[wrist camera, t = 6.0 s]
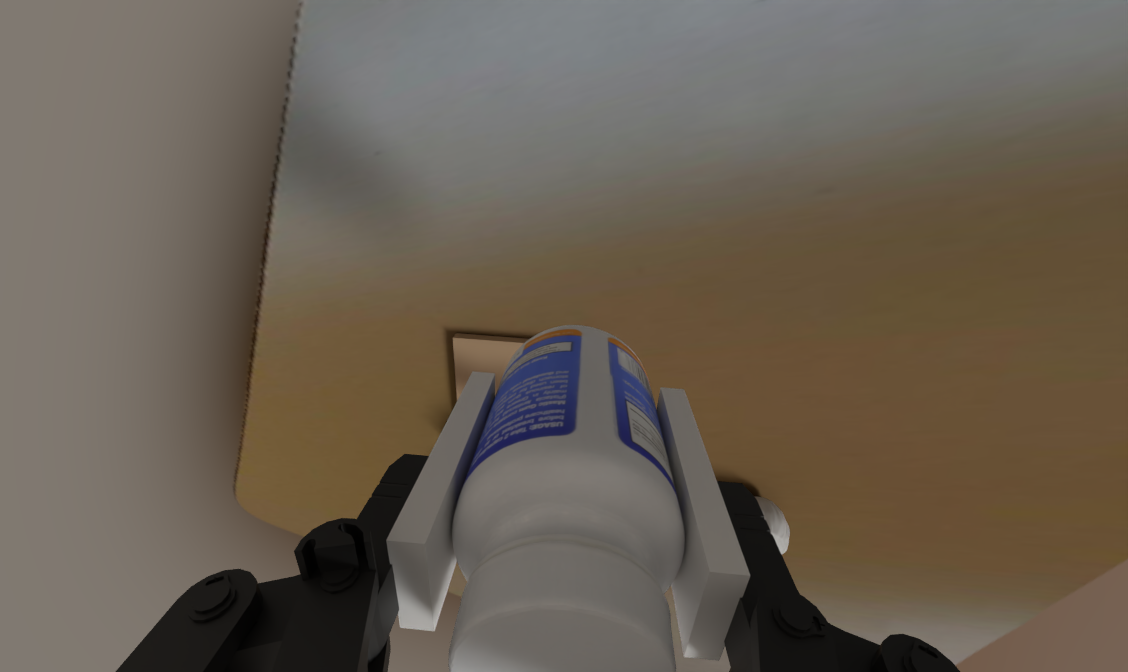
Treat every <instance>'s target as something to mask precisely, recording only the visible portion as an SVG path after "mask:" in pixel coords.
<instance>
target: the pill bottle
mask: <svg viewBox="0 0 1128 672" xmlns="http://www.w3.org/2000/svg"><path fill="white" fill-rule="evenodd" d="M452 541H453V548H454V553H455V557H456V560H457V562H458V565H459V567H460V569H461V571H462V573H463V575H464V577H465V578H466V580H467V581H468V582H467V584H466V586H465V589H464V592H463V595H462V599H461V604H460V608H459V611H458V615H457V619H456V623H455V627H454V631H453V636H452V640H451V644H450V649H449V671H450V672H676V664H675V656H674V648H673V641H672V633H671V621H670V610H669V605H668V602H667V600H666V598H665V596H664V593H665V592H666V591H667V590H668V589H669V587H670V586H671V584H672V583H673V581H674V580H675V577H676V575H677V573H678V571H679V568H680V566H681V563H682V559H683V554H684V547H685V534H684V525H683V520H682V515H681V511H680V506H679V502H678V497H677V493H676V489H675V485H674V481H673V477H672V473H671V469H670V465H669V460H668V456H667V452H666V448H665V444H664V440H663V436H662V432H661V428H660V423H659V419H658V415H657V411H656V407H655V402H654V398H653V395H652V391H651V386H650V381H649V379H648V376H647V374H646V371H645V369H644V367H643V365H642V363H641V361H640V360H639V358H638V357H637V355H636V354H635V353H634V352H633V351H632V350H631V349H630V348H629V347H628V346H627V345H626V344H625V343H624V342H622V341H621V340H620V339H618V338H616V337H615V336H613V335H611V334H609V333H607V332H604V331H602V330H599V329H596V328H592V327H587V326H580V325H567V326H560V327H555V328H551V329H548V330H546V331H543V332H541V333H539V334H537V335H535V336H533V337H532V338H530V339H529V340H527V341H526V342H525V343H524V344H523V345H522V346H521V347H520V348H519V349H518V350H517V351H516V352H515V354H514V355H513V356H512V358H511V360H510V361H509V363H508V365H507V367H506V369H505V371H504V374H503V376H502V379H501V382H500V385H499V387H498V390H497V393H496V396H495V399H494V401H493V404H492V407H491V410H490V413H489V415H488V418H487V421H486V424H485V426H484V429H483V432H482V435H481V437H480V440H479V443H478V446H477V449H476V452H475V454H474V457H473V460H472V463H471V465H470V468H469V471H468V474H467V476H466V479H465V482H464V485H463V487H462V490H461V493H460V496H459V499H458V502H457V506H456V510H455V513H454V518H453V525H452Z"/></svg>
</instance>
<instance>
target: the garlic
mask: <svg viewBox="0 0 1128 672" xmlns="http://www.w3.org/2000/svg"><path fill="white" fill-rule="evenodd" d="M755 498H756V499H757V501H758V503H759V506H760V508H761V510H762V512H763V515H764V520H766V521H767V524H768V526H769V528H770V530H771V531H770V532H771V534H772V535H773V537H774V539H775V541H776V544H777V546H778V548H779V550H780V553H781V554H783V553H785V552H786V551H787V547H788V544H789V535H790V530H789V526H788V523H787V522H786V520H785V518H784V515H783V513H782V511H781V510H780V509H779V507H778V506H777V505H775V504H774V503H773V502H772V501H770V500H768V499H766V498H762V497H755Z"/></svg>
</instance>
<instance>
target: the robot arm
mask: <svg viewBox="0 0 1128 672" xmlns="http://www.w3.org/2000/svg"><path fill="white" fill-rule="evenodd" d="M494 399H495V373H485V372H474V371H472V373H471V375H470V377H469V379H468V381H467V383H466V385H465V387H464V389H463V391H462V393H461V395H460V397H459V399H458V401H457V403H456V405H455V406H454V408H453V410H452V412H451V414H450V416H449V418H448V420H447V422H446V424H445V426H444V428H443V430H442V432H441V434H440V436H439V438H438V440H437V442H436V444H435V446H434V448H433V450H432V452H431V453H430V455H429V456H422V455H411V454H404V455H403V456H402V457H400V458H399V459H398V460H397V461H395V462H394V463H393V464H392V465H390V466H389V467H388V469H387V471H386V472H385V474H384V476H383V477H382V479H381V480H380V484H379V485H377V487H376V489H375V490H374V492H373V493H372V497H371V498H369V500H368V502H367V503H366V505H365V507H364V508H363V510H362V511H361V513H360V515H359V516H358V518H357V520H356V519H349V518H341V519H337V520H333V521H329V522H326V523H324V524H322V525H320V526H318V527H317V528H315V529H313V530H312V531H311V532H309V533H308V534H307V535H306V536H305V537H304V538H303V539H302V540H301V541H300V543H299V544H298V546H297V548H296V549H295V551H294V552H295V556H296V560H297V563H298V566H299V570H300V573H301V574H300V575H297V576H294V577H289V578H284V579H279V580H274V581H269V582H264V583H257V580H256V579H255V577H254V576H253V575H252V574H251V573H250V572H248V571H244V570H241V569H233V570H225V571H221V572H219V573H216V574H213V575H211V576H208V577H206V578H205V579H203V580H201V581H200V582H198V583H196V584H195V585H194V586H191V587H190V588H189V589H188V590H187V591H186V592H185V593H184V594H183V595H182V596H181V597H180V598H179V599H177V601H176V602H175V603H174V604H173V605H172V607H171V608H170V609H169V610H168V611H167V612H166V614H165V615H164V616H163V617H162V618H161V619H160V621H159V622H158V623H157V624H156V625H155V626H154V628H153V629H152V630H151V631H150V632H149V633H148V635H147V636H146V637H145V638H144V639H143V640H142V642H141V643H140V644H139V645H138V646H137V647H136V649H135V650H134V651H133V652H132V653H131V654H130V656H129V657H128V658H127V659H126V660H125V661H124V663H123V664H122V665H121V666H120V667H119V668H118V670H117V671H116V672H387V671H388V664H389V656H390V637H389V633H390V631H391V628H392V626H393V624H394V621H395V618H396V616H397V614H398V617H399V623H400V628H409V629H418V630H428V631H435V628H436V624H437V621H438V618H439V615H440V612H441V609H442V606H443V603H444V599H445V596H446V593H447V590H448V587H449V584H450V581H451V578H452V574H453V571H454V568H455V565H456V562H457V560H456V557H455V553H454V548H453V541H452V525H453V518H454V513H455V510H456V506H457V502H458V499H459V496H460V493H461V490H462V487H463V485H464V482H465V479H466V476H467V474H468V471H469V468H470V465H471V463H472V460H473V457H474V454H475V452H476V449H477V446H478V443H479V440H480V437H481V435H482V432H483V429H484V426H485V424H486V421H487V418H488V415H489V413H490V410H491V407H492V404H493V401H494ZM656 411H657V415H658V419H659V423H660V428H661V432H662V436H663V440H664V444H665V448H666V452H667V456H668V460H669V465H670V469H671V473H672V477H673V481H674V485H675V489H676V493H677V497H678V502H679V506H680V511H681V515H682V520H683V525H684V534H685V547H684V554H683V559H682V563H681V566H680V568H679V571H678V573H677V575H676V577H675V580H674V581H673V583H672V584H671V586H672V591H673V597H674V603H675V609H676V614H677V620H678V626H679V632H680V638H681V643H682V649H683V655H684V657H690V658H699V659H709V660H718V661H719V660H720V657H721V655H722V652H723V649H724V646H725V647H726V650H727V654H728V658H729V662H730V666H731V668H730V671H729V672H960V671H959V670H958V669H957V667H956V666H955V665H954V664H953V663H952V662H951V661H950V660H949V659H948V658H947V657H945V656H944V655H943V654H942V653H941V652H939V651H938V650H937V649H936V648H934V647H932V646H931V645H929V644H927V643H925V642H924V641H922V640H920V639H918V638H915V637H911V636H908V635H905V634H895V635H890V636H889V637H887V638H886V639H885V640H884V641H883V642H882V644H881V645H878V644H876V643H873V642H871V641H868V640H866V639H863V638H861V637H858V636H856V635H853V634H850V633H848V632H845V631H843V630H841V629H839V628H837V627H835V626H833V625H831V624H830V623H828V622H827V620H826V619H825V617H824V616H823V615H822V614H821V612H820V611H819V610H818V609H817V607H816V606H815V605H813V604H812V603H811V602H810V601H808V600H807V599H806V598H805V597H803V596H801V595H800V594H799V592H798V590H797V588H796V586H795V584H794V582H793V579H792V577H791V575H790V573H789V570H788V568H787V566H786V564H785V562H784V559H783V557H782V555H781V553H780V550H779V548H778V546H777V544H776V541H775V539H774V537H773V535H772V534H771V532H770V531H771V530H770V528H769V526H768V524H767V521H766V520H764V515H763V512H762V510H761V508H760V506H759V503H758V501H757V499H756V498H755V497H754V496H753V495H752V494H751V493H750V492H749V490H748V489H747V488H746V487H745V486H744V485H743V484H742V483H732V482H721V481H717V480H716V478H715V475H714V472H713V469H712V466H711V464H710V461H709V458H708V455H707V452H706V450H705V447H704V444H703V441H702V438H701V436H700V433H699V430H698V427H697V424H696V421H695V419H694V416H693V413H692V410H691V407H690V405H689V402H688V399H687V396H686V393H685V391H684V389H673V388H662V387H661V389H660V394H659V400H658V405H657V410H656Z"/></svg>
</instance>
